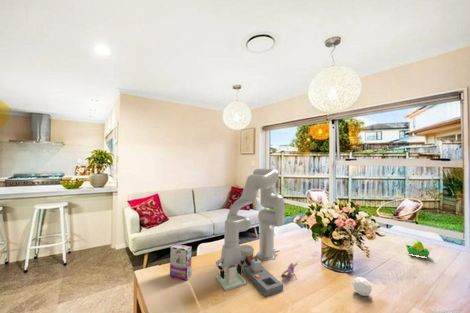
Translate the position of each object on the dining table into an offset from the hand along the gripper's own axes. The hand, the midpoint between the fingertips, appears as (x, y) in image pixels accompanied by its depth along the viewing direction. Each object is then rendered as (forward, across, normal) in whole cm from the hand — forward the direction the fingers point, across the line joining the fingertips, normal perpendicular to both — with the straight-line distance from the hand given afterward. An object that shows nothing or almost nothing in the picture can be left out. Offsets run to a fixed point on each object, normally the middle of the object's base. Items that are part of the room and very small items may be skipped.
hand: (230, 275), depth 107 cm
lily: (+4, -32, +10) cm, 34 cm away
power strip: (+4, -15, +7) cm, 17 cm away
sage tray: (+4, 0, 0) cm, 4 cm away
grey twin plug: (+3, -15, +1) cm, 16 cm away
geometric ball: (+4, -54, +36) cm, 65 cm away
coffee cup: (+4, -14, -9) cm, 17 cm away
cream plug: (+3, 0, 0) cm, 3 cm away
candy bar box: (+4, +23, -17) cm, 29 cm away
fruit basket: (+3, -129, +28) cm, 132 cm away
